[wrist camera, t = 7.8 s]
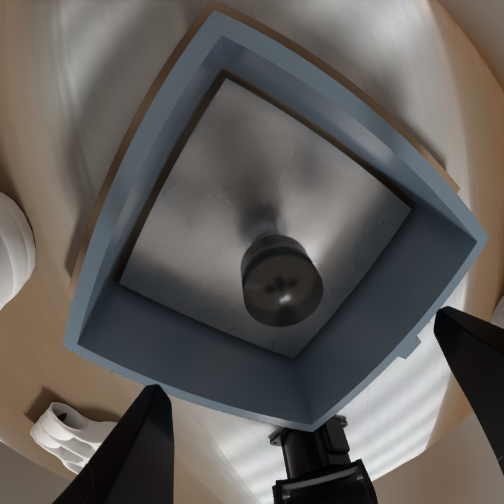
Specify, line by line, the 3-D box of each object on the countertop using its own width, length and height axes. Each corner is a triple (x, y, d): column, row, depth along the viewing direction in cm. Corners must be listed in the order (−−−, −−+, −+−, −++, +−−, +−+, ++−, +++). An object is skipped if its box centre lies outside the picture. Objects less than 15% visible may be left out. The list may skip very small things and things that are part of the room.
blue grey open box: (316, 374, 22) (336, 435, 16) (100, 283, 17) (62, 346, 12) (443, 218, 17) (502, 256, 12) (218, 50, 12) (214, 9, 7)
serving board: (293, 379, 24) (296, 391, 23) (74, 285, 19) (66, 297, 17) (447, 182, 18) (460, 188, 16) (212, 8, 12) (211, -1, 11)
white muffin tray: (64, 383, 24) (175, 445, 29) (30, 426, 28) (112, 471, 33) (54, 408, 20) (173, 469, 26) (23, 443, 25) (108, 488, 30)
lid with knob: (292, 353, 20) (308, 414, 15) (121, 278, 17) (91, 336, 12) (406, 206, 16) (462, 241, 11) (226, 80, 13) (226, 57, 8)
